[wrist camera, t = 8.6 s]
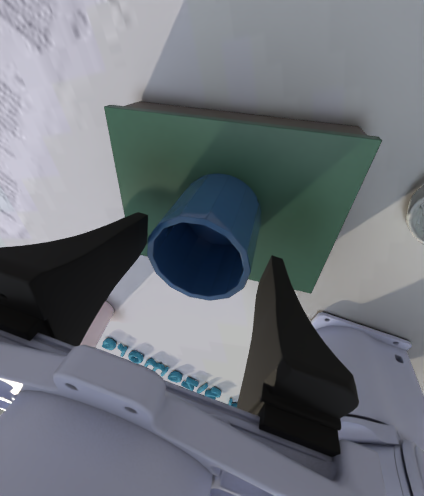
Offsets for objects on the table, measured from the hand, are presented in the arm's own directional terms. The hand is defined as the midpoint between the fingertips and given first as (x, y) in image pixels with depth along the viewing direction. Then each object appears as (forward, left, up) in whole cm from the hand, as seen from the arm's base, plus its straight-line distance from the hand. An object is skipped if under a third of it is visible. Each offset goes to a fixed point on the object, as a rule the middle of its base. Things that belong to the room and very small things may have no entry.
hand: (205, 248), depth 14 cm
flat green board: (0, 0, -8) cm, 8 cm away
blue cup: (0, 0, -4) cm, 4 cm away
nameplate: (-3, +38, -8) cm, 39 cm away
